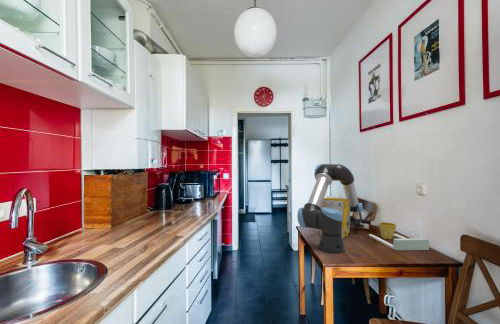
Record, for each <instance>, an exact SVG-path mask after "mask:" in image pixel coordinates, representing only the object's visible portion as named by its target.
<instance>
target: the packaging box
mask: <svg viewBox="0 0 500 324" xmlns="http://www.w3.org/2000/svg"><path fill="white" fill-rule="evenodd" d="M322 208H332V209H336V210H338V211H340V212H341V214H342V238H343V239H345V238H346V237H347V236H349V235H350V234H351V226H350V216H351V212H350V199H347V198H340V197H330V196H329V197H324V200H323V203H322V205H321V209H322ZM321 232H322V231H321V229H319V235H320V234H321ZM349 233H350V234H349ZM348 234H349V235H348ZM345 236H346V237H345ZM344 237H345V238H344Z"/></svg>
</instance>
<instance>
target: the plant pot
mask: <svg viewBox="0 0 500 324" xmlns="http://www.w3.org/2000/svg"><path fill="white" fill-rule="evenodd" d="M378 228H379V229H380V230H379V231H380V235H381V239H383V240H393V239H394V236H393V235H394V234H395V231H396V230H397V224H396V223H393V222H387V221H386V222H385V221H381V222H380V221H379V226H378Z"/></svg>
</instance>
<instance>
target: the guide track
mask: <svg viewBox="0 0 500 324" xmlns="http://www.w3.org/2000/svg"><path fill="white" fill-rule="evenodd" d="M368 236H369V237H370V238H372V239H374V240H376V241H378V242H380V243H381V244H383V245H385V246H387V247H389V248H391V249H393V250H395V251H429V250H430V239H428V238H427V237H426V238H422V237H421V238H420V237H419V238H413V237H412V238H407V237H405V236H402V235H401V234H397V233H394V235H393V237H395V238H393V239H392V240H393V241H392V243H390V242H388V241H386V240H385V239H383V238H380V237H378V236H376V235H374V234H372V233H368Z"/></svg>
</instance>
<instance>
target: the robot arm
mask: <svg viewBox="0 0 500 324" xmlns="http://www.w3.org/2000/svg"><path fill="white" fill-rule="evenodd" d="M314 178H315V180H316V181H315V184H314V187H313V189H312V192H311V194H310V197H309V198H308V202H306V203H305V204H304V206H303V207H300V208H299V209H298V210H297V215H296V216H297V222H298V223H297V224H298V225H299V226H300V227H303V228H309V229H313V230H315V229H316V230H320V229H321V231H322V232H321V235H320V238H319V241H318V245H317V246H318V247H317V248H318V249H319V250H321V251H322V252H327V253H335V254H336V253H343V252H344V251H346V244H345V243H344V238H342V214H341V212H340V211H338V210H336V209H332V208H322V209H321V205H322V203H323V200H324V198H326V194H327V190H328V188H329V186H330V185H332V182H334V181H336V182H338V181H339V182H340V184H341V185H342V187H343V190H344V194H345V195H344V196H345V199H350V213H355V214H356V213H362V212H363V203H362V202H359V199H358V196H357V192H356V187H355V183H354V182H355V177H354V174H353V173H352V171H351V170H350V169H349V168H348V167H347V166H345V165H344V164H340V163H337V164H336V163H335V164H334V163H333V164H332V163H329V164H328V163H320V164H318V165H316V167H315V168H314ZM379 223H380V221H373V220H372V219H365V218H364V219H363V218H362V219H361V218H355V216H353V215H350V227H355V228H358V229H360V228H363V229H365V230H366V229H367V230H369V228H370V227H369V226H370V225H372V226H375V227H379Z"/></svg>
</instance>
